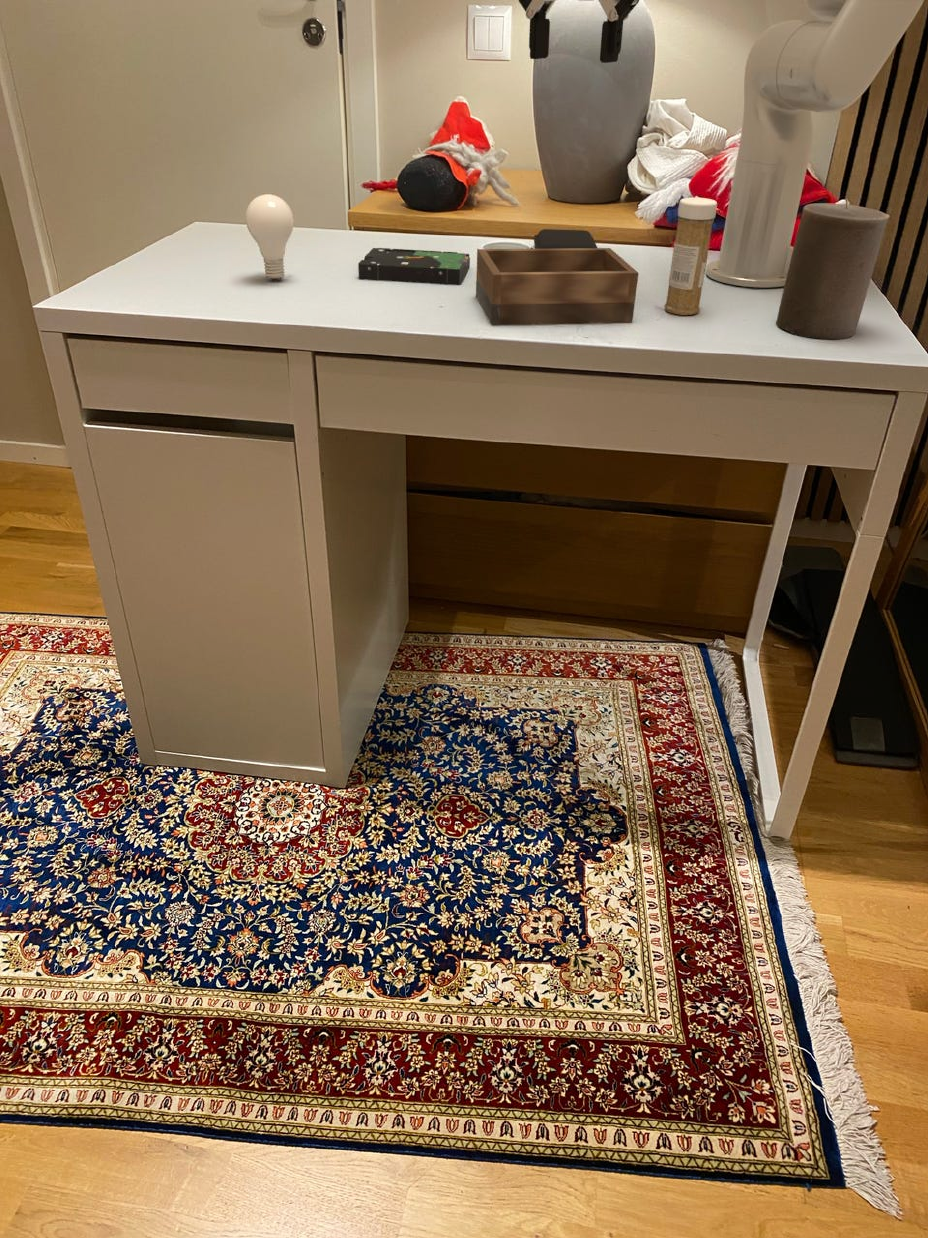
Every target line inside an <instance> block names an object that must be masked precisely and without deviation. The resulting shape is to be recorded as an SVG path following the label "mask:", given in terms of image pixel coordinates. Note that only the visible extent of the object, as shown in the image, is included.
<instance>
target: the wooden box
mask: <svg viewBox="0 0 928 1238" xmlns="http://www.w3.org/2000/svg"><path fill="white" fill-rule="evenodd" d="M475 275H476V280H475V281H476V283H475V298H476V299H477V301H478V302H479V304H480V307H481V308H482V310H483V312H484V315H485V316H486V317H487V320H488V322H489V324H490V325H491V326H512V325H515V326H517V325H518V326H519V325H520V326H521V325H522V326H523V325H524V326H525V325H527V326H528V325H566V324H567V325H569V324H572V325H574V324H575V325H576V324H618V323H621V324H622V323H623V324H626V323H633V319H634V314H635V313H634V311H635V304H636V296H637V288H638V280H639V272H638V271H637V270H636V269H635V268H633V266H631V265H630V264H629V263H628V262H627V261H625V259H623V258H622V257H621V256H619V254H617V253H616V252H615V251H614V249H612V248H610V247H597V248H561V249H535V248H533V249H530V248H477V252H476V274H475Z"/></svg>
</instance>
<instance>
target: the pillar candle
mask: <svg viewBox="0 0 928 1238" xmlns="http://www.w3.org/2000/svg"><path fill="white" fill-rule="evenodd" d="M889 219H890V215H889V214H887V213H885V212H882V210H881V211H880V210H878V209H877V210H876V209H874V208H868V207H864V206H859V205H854V204H853V205H851V204H849V203H848V198H845V204H844V203H827V202H825V203H823V202H822V203H820V202H818V203H809V204H806V205H805V206H803V209H802V212H801V216H800V220H799V224H798V227H797V232H796V236H795V241H794V246H793V247H794V249H793V252H792V256H791V261H790V265H789V270H788V274H787V277H786V281H785V286H783V292H782V295H781V299H780V304H779V308H778V313H777V319H776V321H775V322H776V326H778V327H779V328H780V329H782V330H785V331H787V332H788V333H791V334H794V335H796V336H799V337H805V338H812V339H818V340H819V339H821V340H840V339H843V340H844V339H847V338H851V337H853V336H854V335H855V334H856V331H857V330H858V326H859V322H860V319H861V314H862V312H863V308H864V305H865V301H866V297H867V294H868V290H869V286H870V283H871V279H872V276H873V273H874V270H875V266H876V262H877V258H878V256H879V251H880V249H881V245H882V241H883V237H884V234H885V230H886V226H887V223H888V220H889Z"/></svg>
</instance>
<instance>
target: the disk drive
mask: <svg viewBox="0 0 928 1238" xmlns="http://www.w3.org/2000/svg"><path fill="white" fill-rule="evenodd" d="M470 262H471V258H470V253H464V252H457V251H441V250H440V251H439V250H422V249H406V248H405V249H404V248H389V247H373V248H372V249H371V250H369V252H368V253H366V254H365V256H364V259H362V260H360V261H359V262H358V263H357V265H358V266H357V267H358V268H357V269H358V270H357V271H358V280H360V281H361V280H362V281H363V280H365V281H381V282H382V281H383V282H398V283H399V282H400V283H412V284H413V283H414V284H415V283H417V284H418V283H419V284H432V285H433V284H434V285H445V286H447V285H451V286H461V285H462V283H463V282H464V280H465V278H466V275H467V274H468V272H469V269H470V265H471V263H470Z"/></svg>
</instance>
